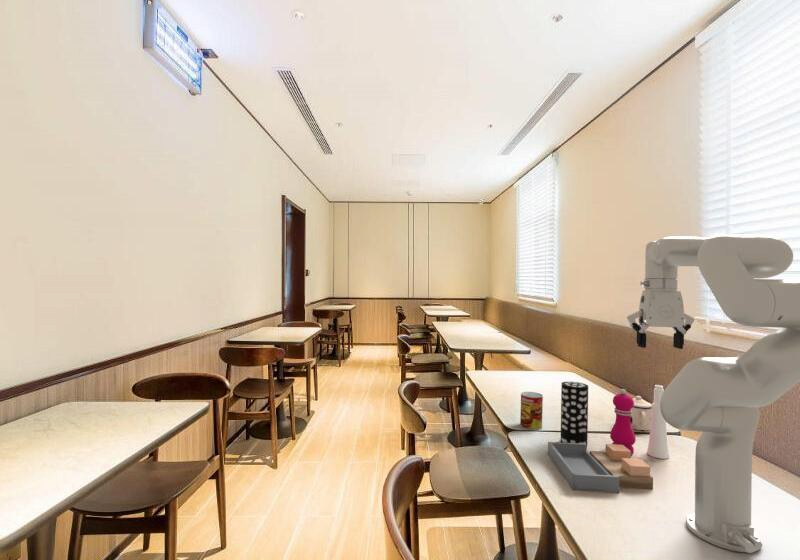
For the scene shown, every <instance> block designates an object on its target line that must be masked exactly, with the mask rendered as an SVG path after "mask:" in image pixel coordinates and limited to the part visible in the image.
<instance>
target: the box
mask: <svg viewBox="0 0 800 560" xmlns="http://www.w3.org/2000/svg"><path fill="white" fill-rule="evenodd" d="M547 455H548V457H549V459H550V460H551V461H552V463H553V464H554V465H555V466H556V468H557V469H558V471H559V472H560V474H561V475H562V477H563V478H564V479H565V481H566V482H567V483H568V485H569V486H570V487H571V489H572V490H573V491H577V490H578V491H581V492H596V491H597V493H600V492H601V493H615V494H617V493H618V494H619V493H620V487H619V478H620V477H619V476H615V475H611V474H610V473H609V472H608V471H607V470H606V469H605V468H604V467H603V466H602V465H601V464H600V463H599V462H598V461H597V460H596V459H595V458H594V457H593V456H592V455H591V454H590V451H588V443H587V444H581V443H561V442H559V441H558V442H555V441H554V442H553V441H548V442H547Z"/></svg>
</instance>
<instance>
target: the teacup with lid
mask: <svg viewBox="0 0 800 560" xmlns="http://www.w3.org/2000/svg"><path fill="white" fill-rule="evenodd" d="M632 399H633V401H634V406H633V408H631V410H632V415H630V424H631V427H632V430H635V429H636V430H637V431H641V430H644V431H643V432H647V430H648V431H650V426H651V411H652V403H650V402H648V401H646V400H645V399H643V398H642V396H641V395H636V396H635V397H634V398H633V397H632Z"/></svg>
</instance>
